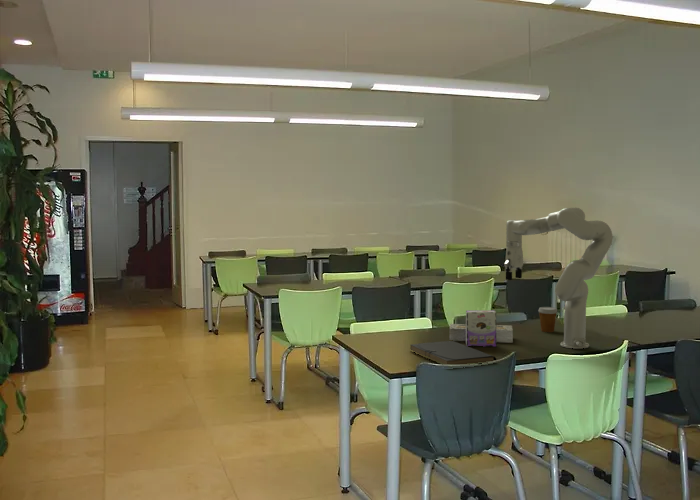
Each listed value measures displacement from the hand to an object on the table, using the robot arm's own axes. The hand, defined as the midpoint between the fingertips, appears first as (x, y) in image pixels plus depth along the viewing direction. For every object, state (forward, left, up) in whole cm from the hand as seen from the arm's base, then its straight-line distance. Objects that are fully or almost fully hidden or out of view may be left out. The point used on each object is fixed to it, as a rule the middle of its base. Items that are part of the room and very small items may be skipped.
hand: (513, 278), depth 334 cm
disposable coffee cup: (+9, -21, -29) cm, 37 cm away
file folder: (-40, +40, -30) cm, 64 cm away
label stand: (-6, +18, -29) cm, 35 cm away
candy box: (-20, +22, -29) cm, 41 cm away
